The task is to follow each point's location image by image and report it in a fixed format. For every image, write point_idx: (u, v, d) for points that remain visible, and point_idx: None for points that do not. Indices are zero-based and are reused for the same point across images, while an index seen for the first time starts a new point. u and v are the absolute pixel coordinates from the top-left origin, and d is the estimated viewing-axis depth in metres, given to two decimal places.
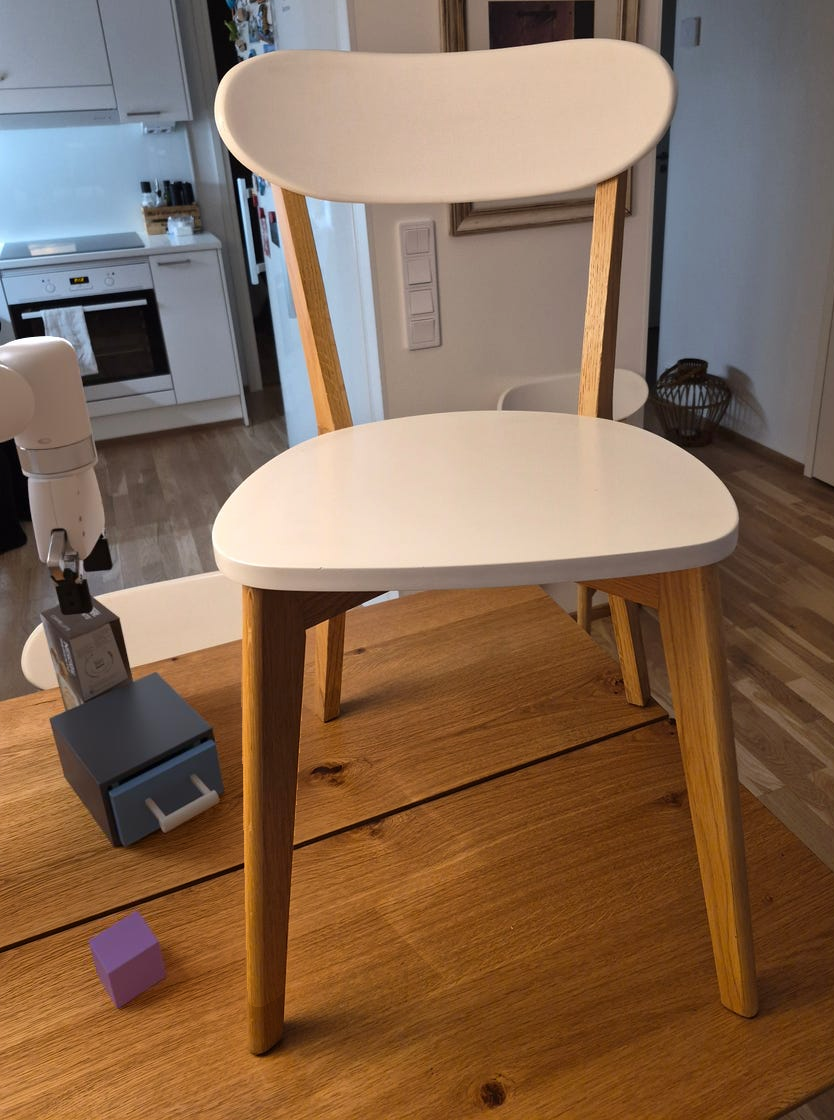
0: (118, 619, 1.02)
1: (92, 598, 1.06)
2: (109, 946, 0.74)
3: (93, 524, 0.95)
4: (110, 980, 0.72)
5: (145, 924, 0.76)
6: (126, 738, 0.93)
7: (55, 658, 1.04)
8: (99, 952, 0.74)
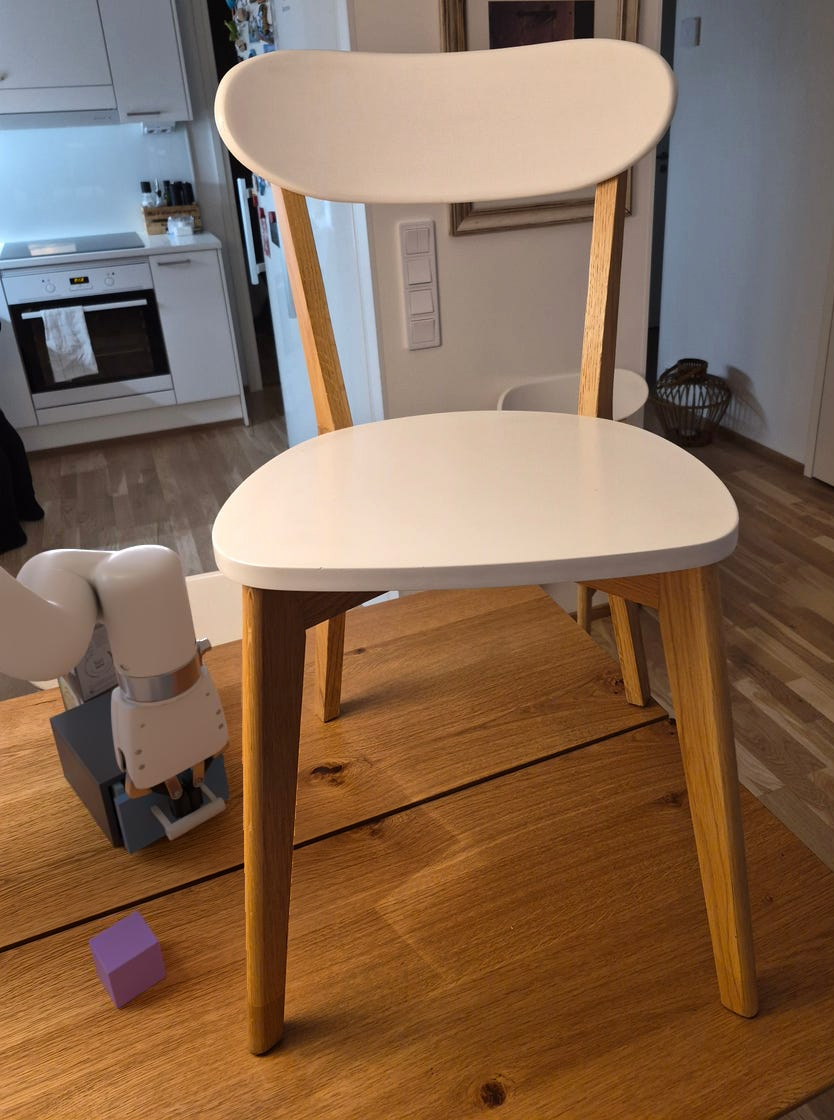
0: None
1: None
2: (109, 946, 0.74)
3: (174, 755, 0.83)
4: (110, 980, 0.72)
5: (145, 924, 0.76)
6: None
7: None
8: (99, 952, 0.74)
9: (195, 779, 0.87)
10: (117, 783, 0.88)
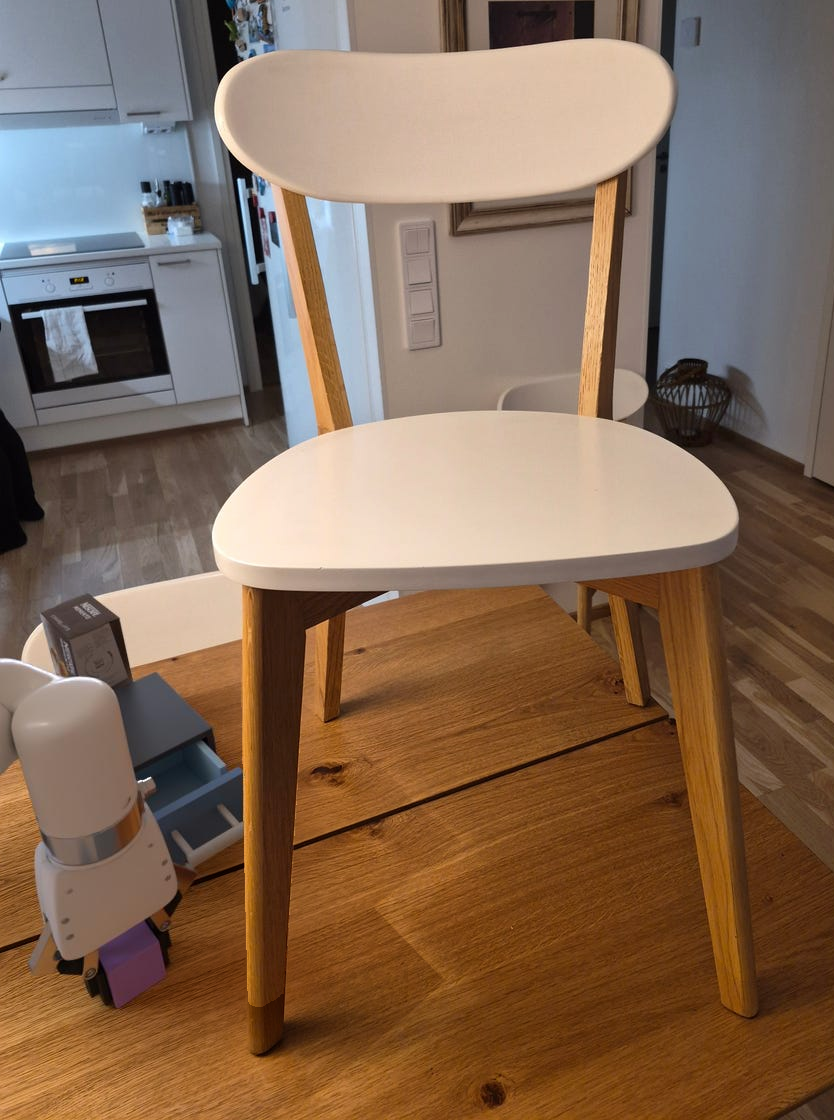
0: (118, 619, 1.02)
1: (92, 598, 1.06)
2: (109, 946, 0.74)
3: (111, 918, 0.71)
4: (110, 980, 0.72)
5: (145, 924, 0.76)
6: None
7: (55, 658, 1.04)
8: (99, 952, 0.74)
9: (161, 922, 0.76)
10: None
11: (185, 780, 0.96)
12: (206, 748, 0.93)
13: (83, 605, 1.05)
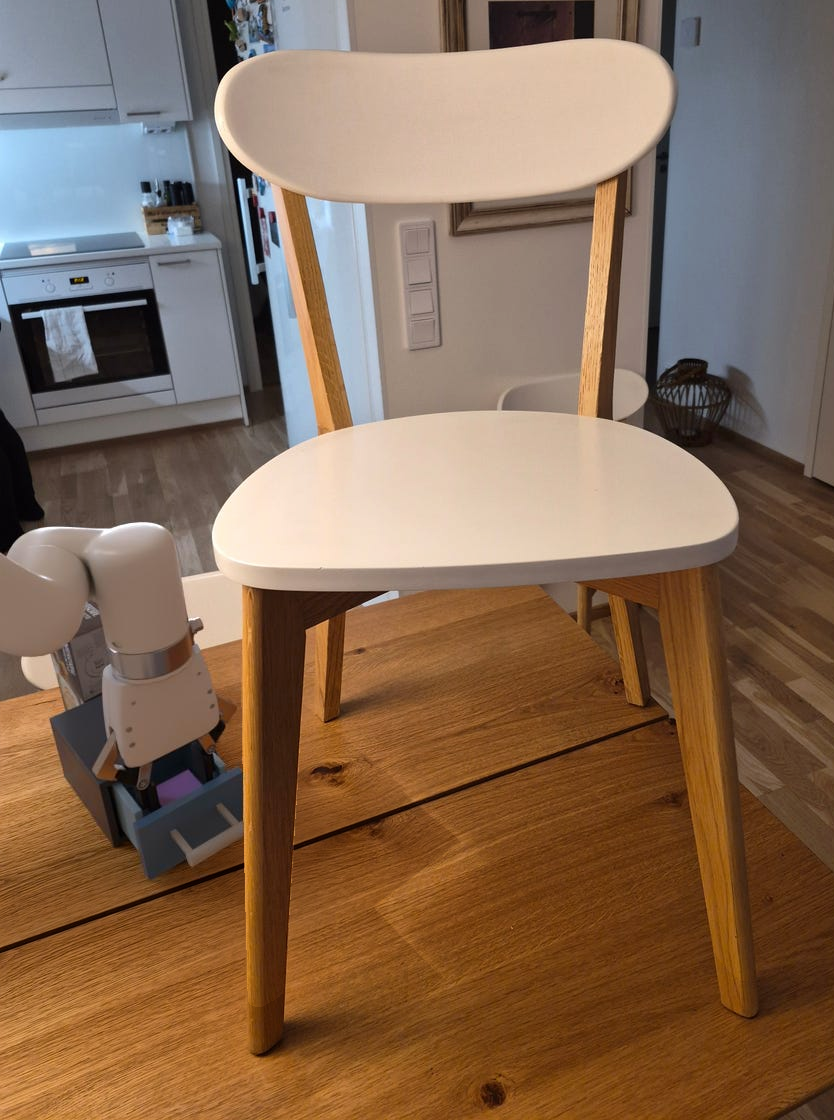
0: None
1: None
2: (167, 794, 0.88)
3: (165, 733, 0.83)
4: None
5: (196, 779, 0.90)
6: None
7: (55, 658, 1.04)
8: None
9: (208, 746, 0.88)
10: (135, 807, 0.85)
11: None
12: None
13: None
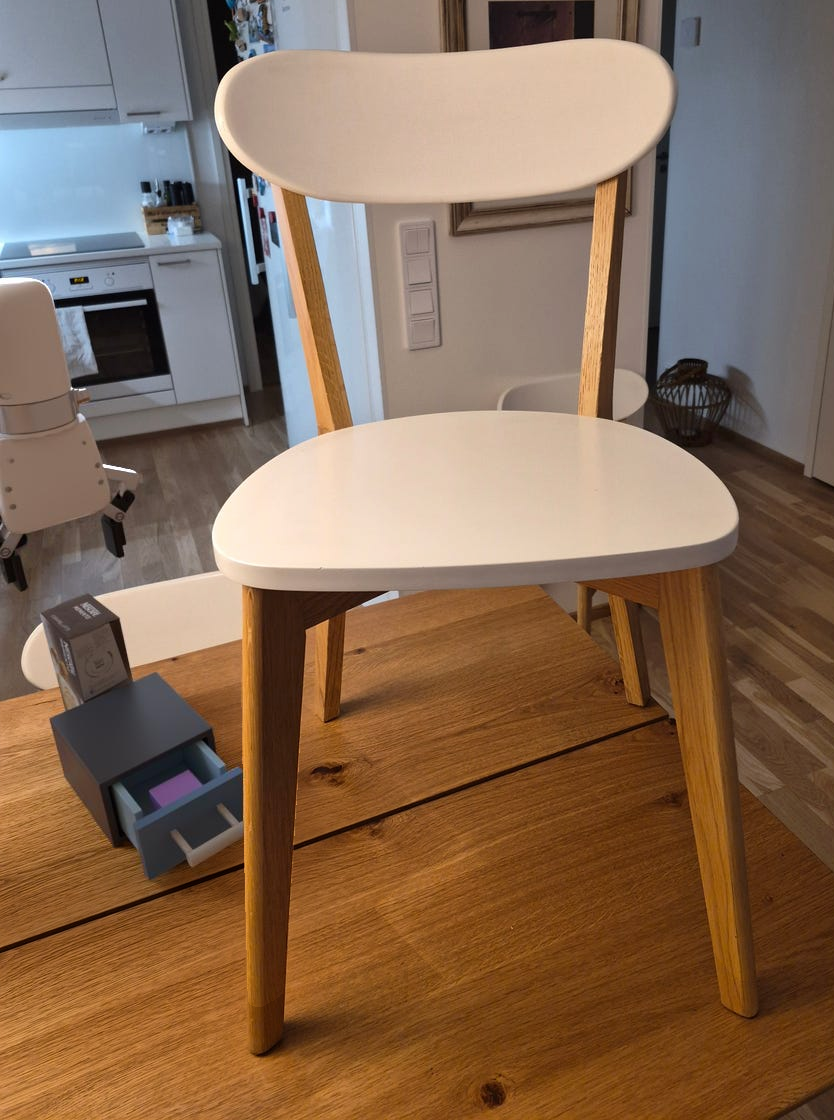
0: (118, 619, 1.02)
1: (92, 598, 1.06)
2: (167, 794, 0.88)
3: (49, 501, 0.82)
4: None
5: (196, 779, 0.90)
6: (126, 738, 0.93)
7: (55, 658, 1.04)
8: (158, 798, 0.88)
9: (116, 513, 0.88)
10: (136, 807, 0.85)
11: None
12: (206, 748, 0.93)
13: (83, 605, 1.05)
